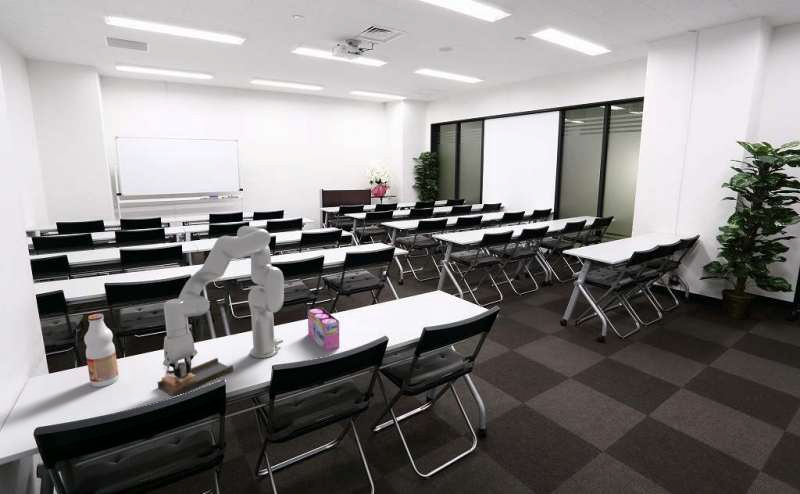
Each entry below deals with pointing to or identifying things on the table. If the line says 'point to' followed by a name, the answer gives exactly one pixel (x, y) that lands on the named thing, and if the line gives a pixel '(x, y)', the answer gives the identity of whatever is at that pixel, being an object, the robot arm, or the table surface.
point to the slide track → (203, 376)
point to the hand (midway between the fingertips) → (182, 374)
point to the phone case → (170, 369)
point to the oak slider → (184, 375)
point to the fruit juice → (100, 353)
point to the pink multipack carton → (323, 328)
